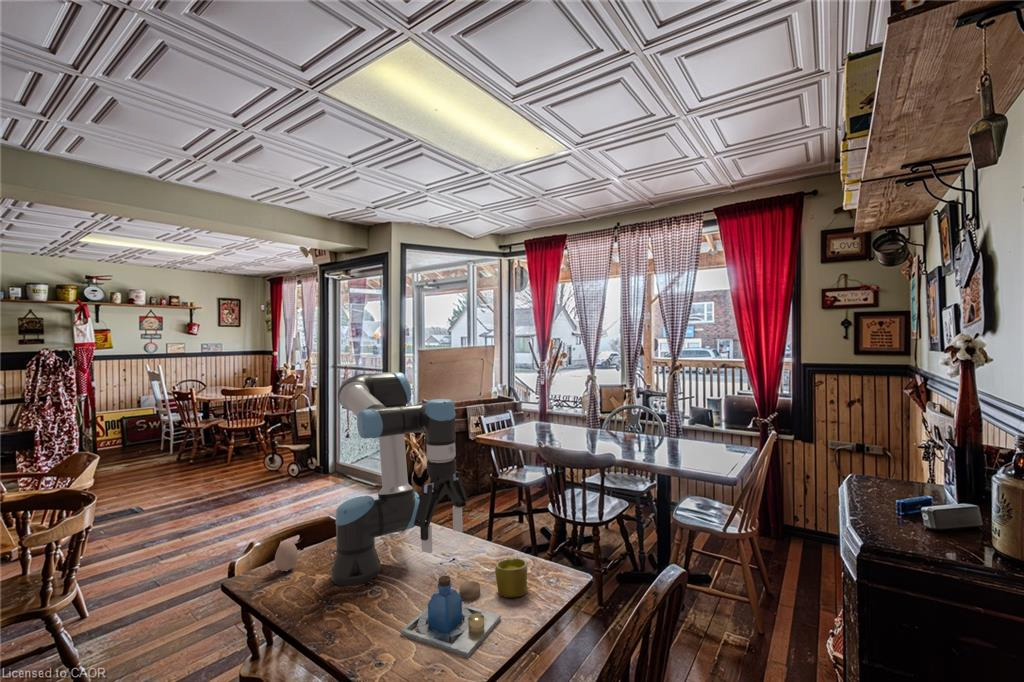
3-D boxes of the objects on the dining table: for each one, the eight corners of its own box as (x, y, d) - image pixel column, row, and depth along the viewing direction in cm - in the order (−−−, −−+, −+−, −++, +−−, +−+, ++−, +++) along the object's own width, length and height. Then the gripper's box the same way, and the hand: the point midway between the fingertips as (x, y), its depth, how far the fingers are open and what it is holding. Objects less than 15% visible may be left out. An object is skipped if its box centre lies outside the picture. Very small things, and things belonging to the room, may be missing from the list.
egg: (293, 563, 151) (293, 535, 151) (301, 570, 146) (300, 540, 146) (272, 571, 146) (271, 541, 146) (279, 578, 141) (278, 547, 141)
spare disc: (455, 597, 128) (455, 589, 128) (466, 587, 133) (466, 579, 133) (473, 602, 125) (472, 593, 125) (483, 592, 130) (483, 583, 130)
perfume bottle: (447, 635, 111) (446, 587, 111) (428, 628, 114) (427, 581, 114) (462, 622, 116) (461, 576, 116) (443, 615, 119) (442, 570, 119)
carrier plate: (400, 635, 111) (400, 618, 111) (438, 601, 126) (438, 586, 126) (467, 658, 102) (467, 639, 102) (500, 619, 116) (500, 603, 117)
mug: (529, 597, 123) (519, 559, 126) (496, 606, 125) (486, 568, 128) (539, 583, 135) (529, 549, 137) (508, 591, 137) (499, 557, 139)
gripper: (422, 473, 103) (424, 565, 103) (478, 449, 125) (480, 525, 125) (397, 469, 106) (399, 558, 106) (456, 447, 128) (458, 521, 128)
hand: (443, 540), depth 115 cm, fingers open, 13 cm apart
